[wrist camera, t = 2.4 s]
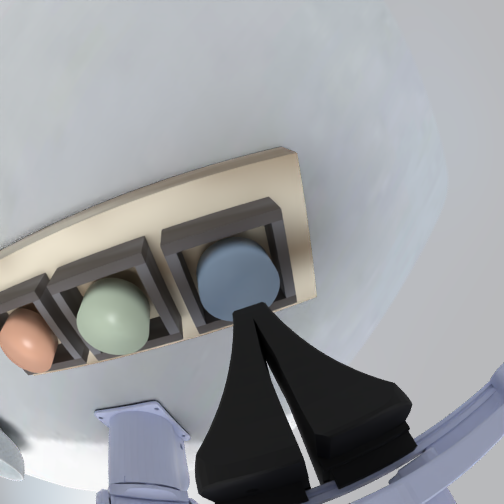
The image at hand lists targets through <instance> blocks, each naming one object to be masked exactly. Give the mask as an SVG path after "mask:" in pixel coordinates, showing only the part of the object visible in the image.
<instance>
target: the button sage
mask: <svg viewBox="0 0 504 504" xmlns="http://www.w3.org/2000/svg"><path fill="white" fill-rule="evenodd" d="M149 324H150V304H149V301H148V299H147V297H146V295H145V294H144V293H143V291H142V290H141V289H139V288H138V287H137V286H136V285H134V284H133V283H131V282H129V281H126V280H123V279H119V278H104V279H100V280H98V281H96V282H94V283H93V284H91V285H90V286H89V287H88V289H87V290H86V292H85V295H84V298H83V300H82V303H81V306H80V309H79V311H78V314H77V327H78V330H79V332H80V334H81V336H82V337H83V338H84V339H85V341H86V342H87V343H89V344H90V345H91V346H92V347H94V348H96V349H98V350H99V351H102V352H105V353H108V354H113V355H126V354H130V353H134V352H136V351H138V350H139V349H141V348H142V347H143V346H144V345H145V343H146V342H147V340H148V337H149Z"/></svg>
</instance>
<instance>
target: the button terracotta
mask: <svg viewBox="0 0 504 504" xmlns="http://www.w3.org/2000/svg"><path fill="white" fill-rule="evenodd" d="M0 346H1V348H2V350H3V351H4V353H5V354H6V356H7V357H8V358H9V359H10V360H11V361H12V362H13V363H15V364H16V365H17V366H19V367H21V368H23V369H24V370H27V371H30V372H34V373H44V372H46V371H48V370H49V369H50V368H51V365H52V362H53V359H54V356H55V353H56V349H57V346H58V338H57V336H56V335H55V334H54V332H53V331H52V329H51V328H50V327H49V325H48V324H47V323H46V321H45V320H44V318H43V317H42V316H41V315H39V314H38V313H36V312H34V311H32V310H29V309H23V308H20V309H15V310H13V311H12V312H11V313H10V315H9V317H8V318H7V320H6V322H5V324H4V326H3V328H2V330H1V331H0Z"/></svg>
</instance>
